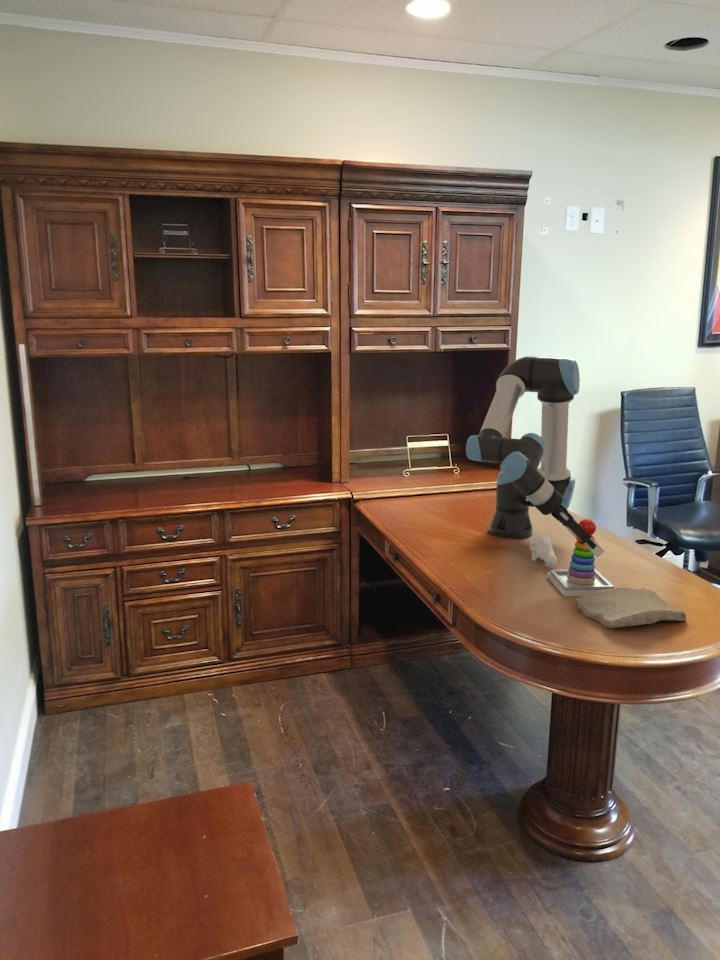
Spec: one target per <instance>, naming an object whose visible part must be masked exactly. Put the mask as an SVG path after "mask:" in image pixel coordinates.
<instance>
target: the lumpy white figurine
mask: <svg viewBox="0 0 720 960" xmlns="http://www.w3.org/2000/svg"><path fill="white" fill-rule="evenodd" d="M529 549H530V551H531V556H532V557H531V561H532V562H535V561H536V560H537V559H540V560H542V561H544V563H543V565H544V568H545V567H547V568H550V569H553V568H554V567H555V566H556V565H557V564H558V558H557V556H556V555H555V550H554V549H553V545H552V542H551V540H550V538H548V536H546V535H545V534H542V533H539V534H536V535H534V536H533V537H532V538H531V541H530V542H529Z"/></svg>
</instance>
